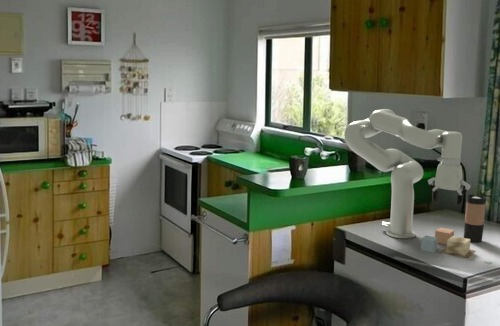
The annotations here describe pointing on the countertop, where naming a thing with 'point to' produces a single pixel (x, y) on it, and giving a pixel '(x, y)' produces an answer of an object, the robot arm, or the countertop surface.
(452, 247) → the beech base block
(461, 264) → the countertop surface
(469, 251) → the walnut board
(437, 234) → the terracotta block
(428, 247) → the slate block
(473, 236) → the travel mug
